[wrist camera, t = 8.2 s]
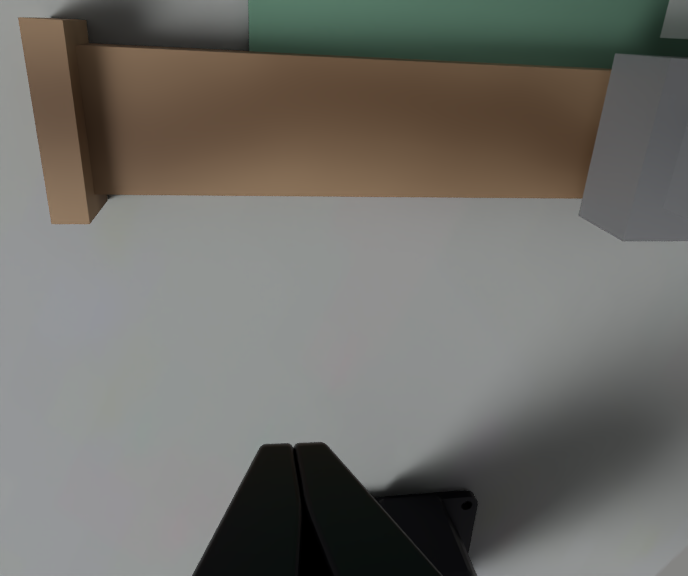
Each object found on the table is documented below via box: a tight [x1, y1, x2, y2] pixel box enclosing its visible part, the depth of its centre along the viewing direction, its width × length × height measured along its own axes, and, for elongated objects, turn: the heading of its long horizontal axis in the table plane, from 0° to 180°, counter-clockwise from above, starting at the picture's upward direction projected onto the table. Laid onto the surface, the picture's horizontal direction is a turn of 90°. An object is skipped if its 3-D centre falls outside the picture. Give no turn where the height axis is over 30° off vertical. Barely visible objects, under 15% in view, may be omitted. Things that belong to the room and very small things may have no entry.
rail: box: [18, 18, 612, 224], centre depth 18 cm, size 5×23×2 cm, turn 87°
